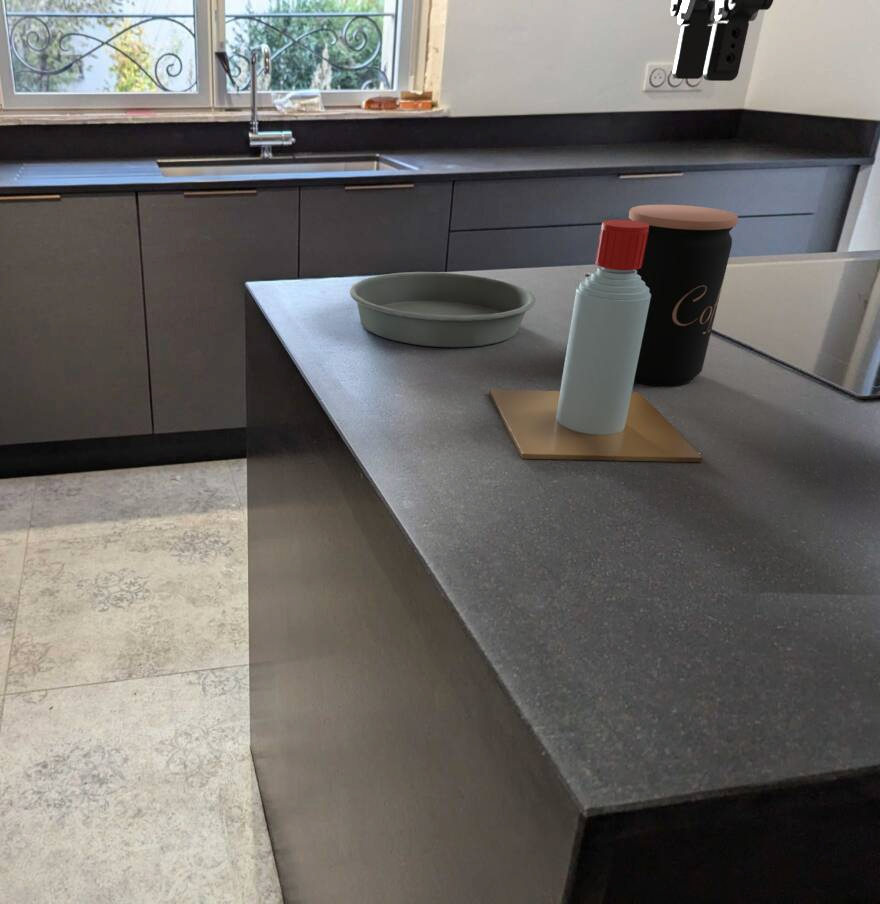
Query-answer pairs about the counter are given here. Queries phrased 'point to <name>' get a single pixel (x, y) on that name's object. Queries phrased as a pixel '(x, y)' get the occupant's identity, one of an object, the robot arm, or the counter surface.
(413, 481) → the counter surface
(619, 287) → the bottle
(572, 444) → the mat
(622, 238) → the cap
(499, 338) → the cake pan
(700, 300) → the coffee jar
